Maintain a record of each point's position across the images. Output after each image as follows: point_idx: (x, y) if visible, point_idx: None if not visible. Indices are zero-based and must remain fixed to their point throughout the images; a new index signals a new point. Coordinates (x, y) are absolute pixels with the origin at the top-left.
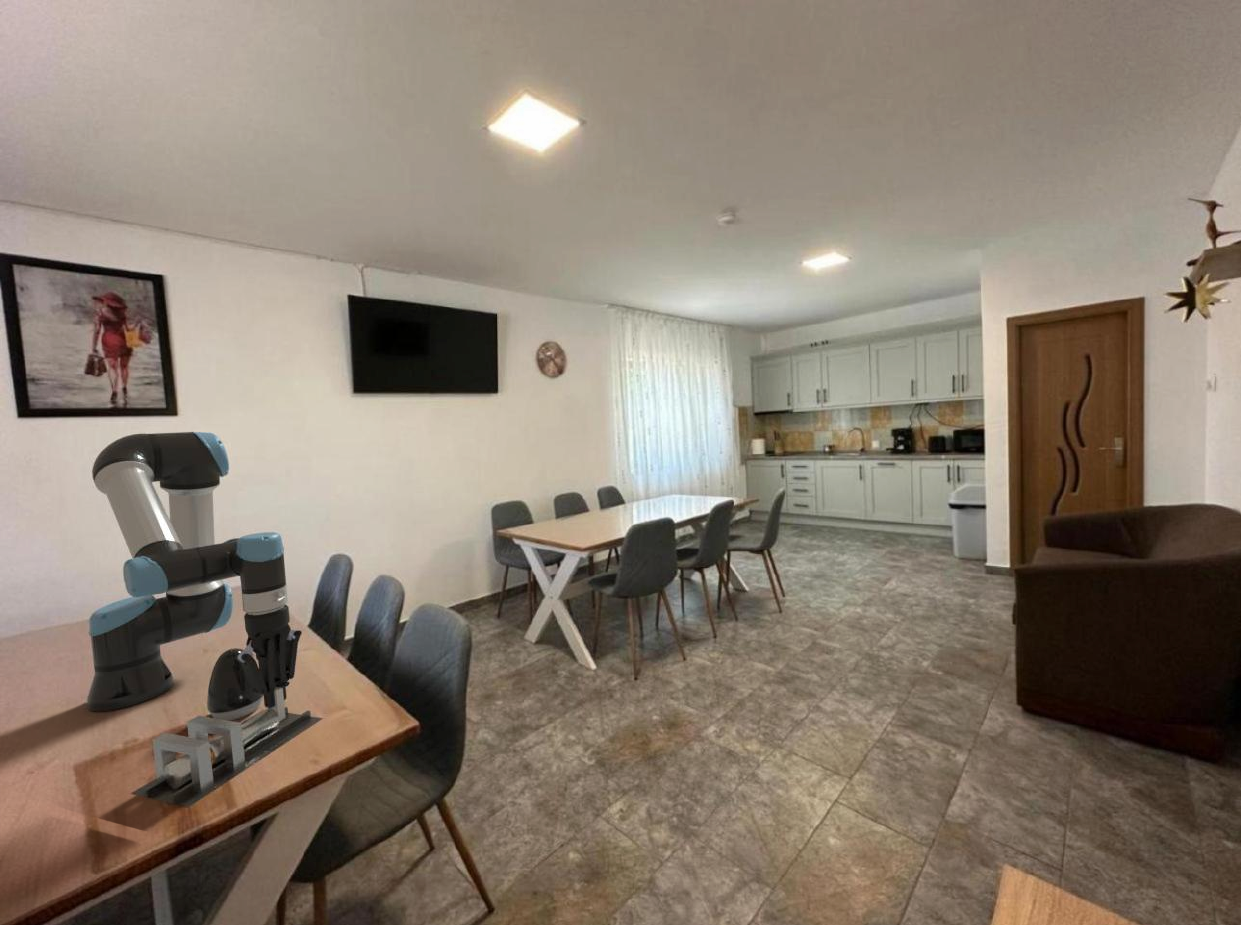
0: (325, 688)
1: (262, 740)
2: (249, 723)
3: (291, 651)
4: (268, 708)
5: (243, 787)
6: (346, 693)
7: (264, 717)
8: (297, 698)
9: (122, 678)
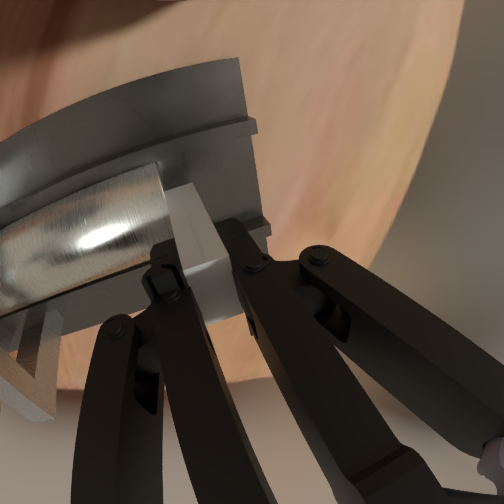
0: (391, 73)
1: (108, 288)
2: (79, 277)
3: (421, 415)
4: (166, 225)
5: (60, 354)
6: (384, 162)
7: (133, 262)
8: (332, 34)
9: None
